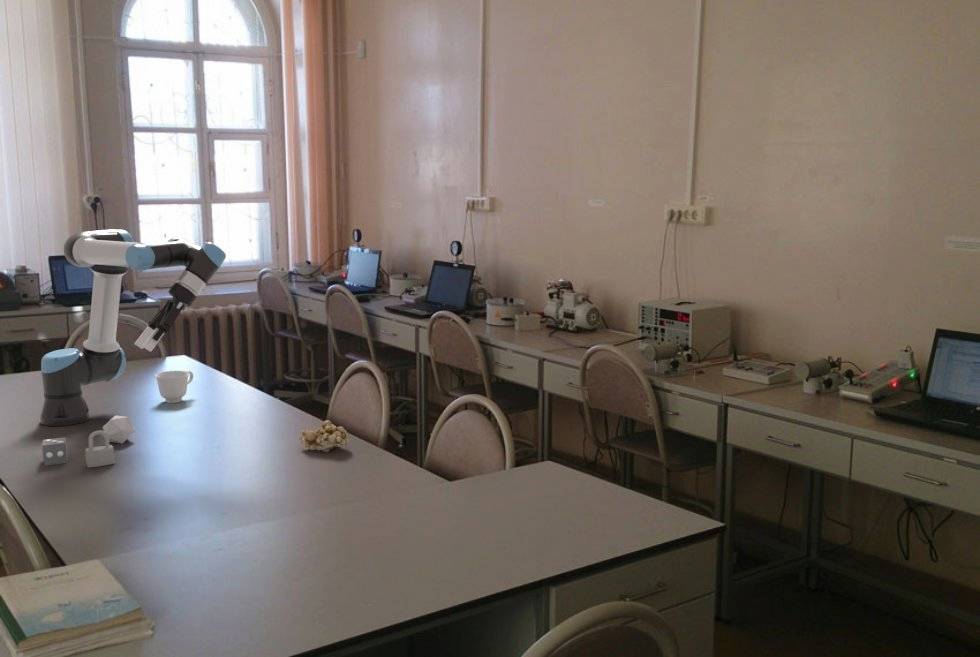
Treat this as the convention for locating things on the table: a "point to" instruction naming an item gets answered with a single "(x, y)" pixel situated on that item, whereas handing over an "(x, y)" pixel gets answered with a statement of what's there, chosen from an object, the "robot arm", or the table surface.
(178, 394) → the teacup
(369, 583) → the table surface
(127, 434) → the die
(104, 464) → the padlock
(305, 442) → the mineral formation
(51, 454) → the dotted block
